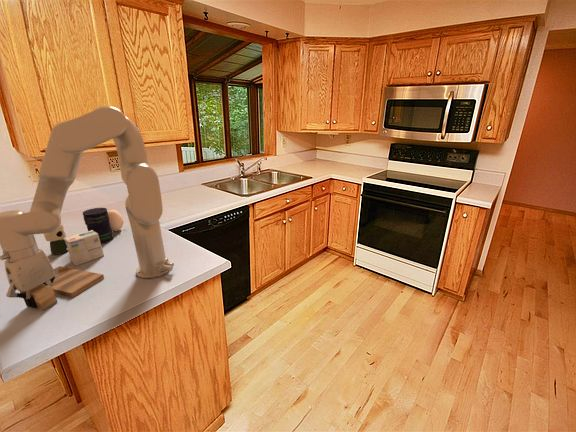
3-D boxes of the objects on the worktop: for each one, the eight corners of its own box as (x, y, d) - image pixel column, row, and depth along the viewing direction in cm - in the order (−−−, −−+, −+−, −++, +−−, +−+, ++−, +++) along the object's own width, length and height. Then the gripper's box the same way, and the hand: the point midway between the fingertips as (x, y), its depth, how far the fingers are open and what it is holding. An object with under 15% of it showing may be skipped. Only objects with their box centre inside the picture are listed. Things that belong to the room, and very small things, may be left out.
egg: (123, 232, 147) (118, 211, 143) (105, 234, 145) (100, 213, 141) (126, 227, 154) (121, 206, 150) (109, 229, 152) (104, 208, 148)
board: (104, 278, 107) (103, 274, 106) (73, 297, 96) (72, 293, 96) (60, 269, 113) (59, 266, 113) (27, 286, 102) (25, 282, 102)
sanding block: (57, 301, 94) (51, 286, 92) (42, 310, 90) (36, 294, 88) (42, 298, 96) (36, 282, 94) (27, 306, 92) (20, 290, 90)
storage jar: (94, 246, 132) (85, 216, 127) (87, 240, 138) (79, 211, 133) (117, 239, 139) (110, 210, 134) (110, 234, 145) (103, 206, 140)
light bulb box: (98, 251, 127) (92, 229, 124) (104, 256, 123) (98, 233, 120) (70, 261, 120) (63, 237, 116) (75, 266, 116) (68, 241, 112)
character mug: (62, 257, 123) (53, 229, 118) (44, 259, 122) (34, 230, 117) (75, 246, 133) (68, 220, 128) (58, 247, 132) (50, 221, 127)
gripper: (-4, 267, 77) (20, 322, 84) (59, 241, 92) (75, 289, 99) (-22, 263, 80) (3, 317, 86) (42, 238, 95) (59, 285, 101)
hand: (41, 301), depth 92 cm, fingers closed on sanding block, 4 cm apart
